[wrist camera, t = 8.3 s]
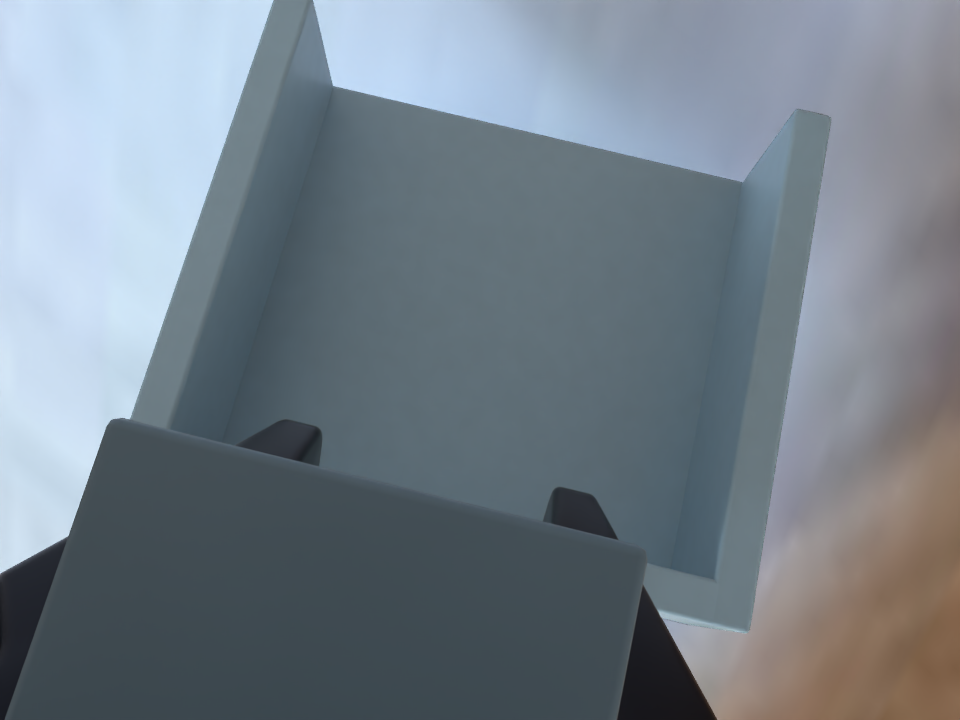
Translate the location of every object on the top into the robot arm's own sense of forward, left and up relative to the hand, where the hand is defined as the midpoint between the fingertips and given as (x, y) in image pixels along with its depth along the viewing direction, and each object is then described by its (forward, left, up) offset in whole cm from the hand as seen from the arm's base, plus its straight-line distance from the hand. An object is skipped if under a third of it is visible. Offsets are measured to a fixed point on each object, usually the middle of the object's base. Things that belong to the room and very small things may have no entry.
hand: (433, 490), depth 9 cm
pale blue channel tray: (-2, -2, -7) cm, 7 cm away
